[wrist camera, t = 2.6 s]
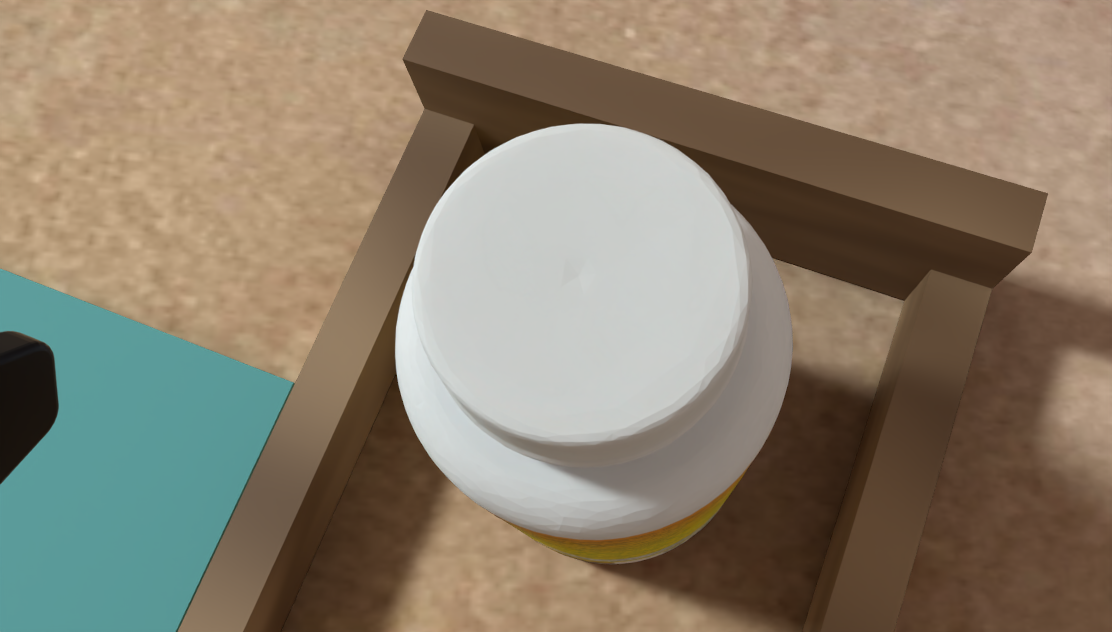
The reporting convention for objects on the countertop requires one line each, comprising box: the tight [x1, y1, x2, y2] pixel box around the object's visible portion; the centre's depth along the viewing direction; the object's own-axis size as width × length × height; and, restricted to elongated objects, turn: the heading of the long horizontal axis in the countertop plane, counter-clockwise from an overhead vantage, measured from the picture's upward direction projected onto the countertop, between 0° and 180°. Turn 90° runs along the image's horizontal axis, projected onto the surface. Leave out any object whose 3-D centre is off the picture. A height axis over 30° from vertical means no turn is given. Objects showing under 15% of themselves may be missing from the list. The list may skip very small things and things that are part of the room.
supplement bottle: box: [395, 124, 793, 564], centre depth 16 cm, size 6×6×10 cm
